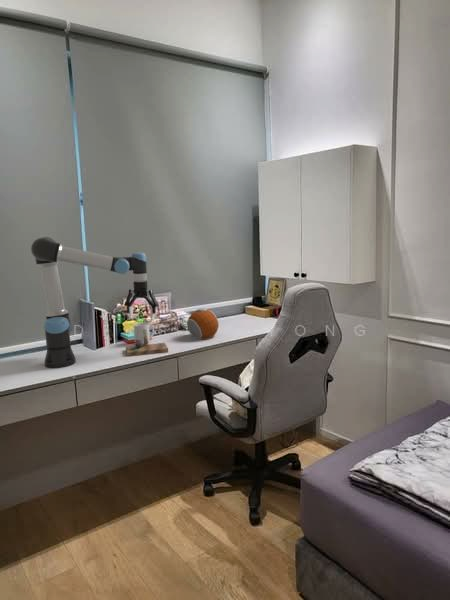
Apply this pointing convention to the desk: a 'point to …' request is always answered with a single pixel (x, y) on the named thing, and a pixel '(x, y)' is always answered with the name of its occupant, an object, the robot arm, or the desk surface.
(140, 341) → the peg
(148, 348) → the wooden board
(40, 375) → the desk surface
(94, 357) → the desk surface
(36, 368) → the desk surface
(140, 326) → the mug
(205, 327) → the orange ball
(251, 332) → the desk surface
